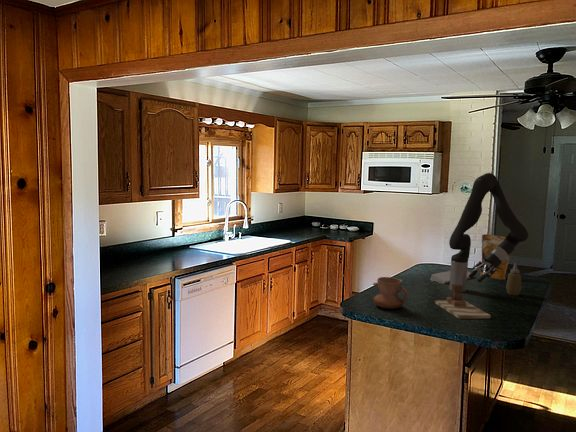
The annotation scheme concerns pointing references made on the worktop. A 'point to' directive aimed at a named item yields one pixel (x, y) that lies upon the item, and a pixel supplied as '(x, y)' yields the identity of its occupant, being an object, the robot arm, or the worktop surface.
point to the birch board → (463, 310)
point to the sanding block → (456, 296)
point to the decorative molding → (444, 277)
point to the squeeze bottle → (514, 281)
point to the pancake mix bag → (487, 246)
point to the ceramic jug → (389, 293)
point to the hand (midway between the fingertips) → (473, 279)
